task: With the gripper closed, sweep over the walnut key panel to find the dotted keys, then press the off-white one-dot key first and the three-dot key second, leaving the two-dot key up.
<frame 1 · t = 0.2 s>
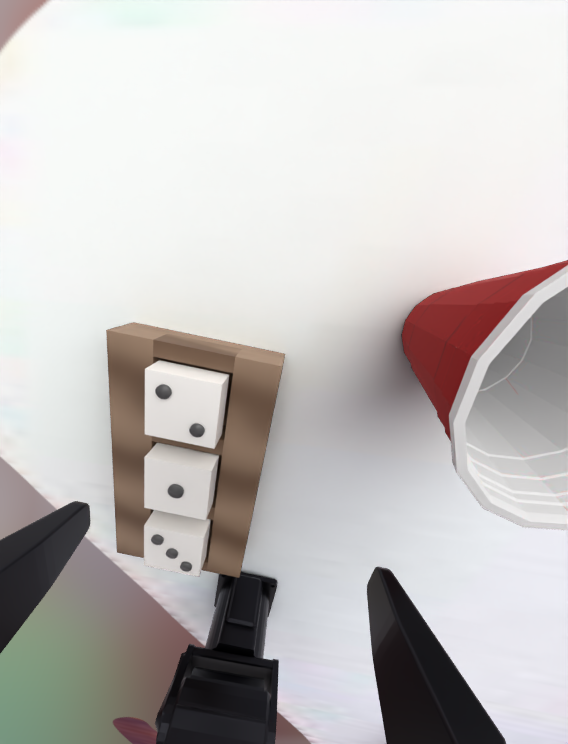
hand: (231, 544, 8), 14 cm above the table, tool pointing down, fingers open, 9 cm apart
key panel: (198, 452, 24), on the table
two dot key: (186, 405, 18), point 4 cm above the table, slide at 0.0 cm
plastic cup: (443, 332, 19), on the table
one dot key: (181, 482, 21), point 4 cm above the table, slide at 0.0 cm
three dot key: (176, 543, 23), point 4 cm above the table, slide at 0.0 cm
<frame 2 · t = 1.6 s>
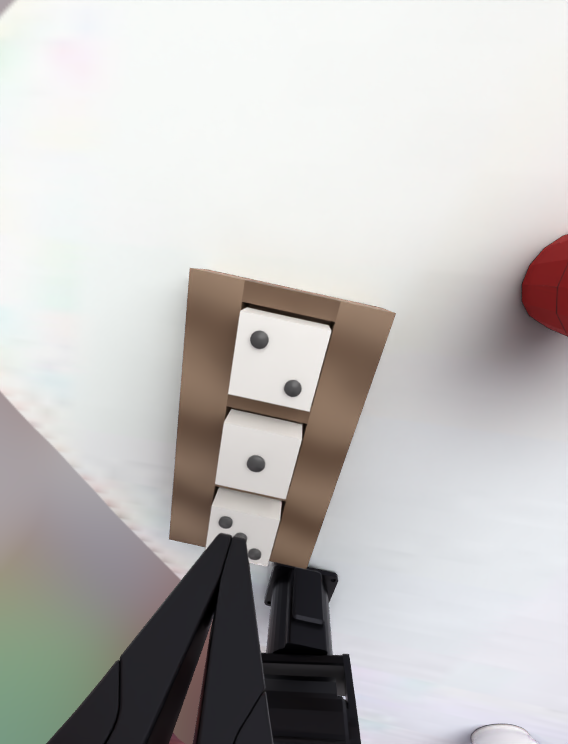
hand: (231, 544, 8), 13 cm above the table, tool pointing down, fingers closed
key panel: (265, 426, 22), on the table
two dot key: (278, 360, 16), point 4 cm above the table, slide at 0.0 cm
lidded bowl: (498, 734, 35), on the table
one dot key: (258, 455, 18), point 4 cm above the table, slide at 0.0 cm
three dot key: (243, 528, 21), point 4 cm above the table, slide at 0.0 cm
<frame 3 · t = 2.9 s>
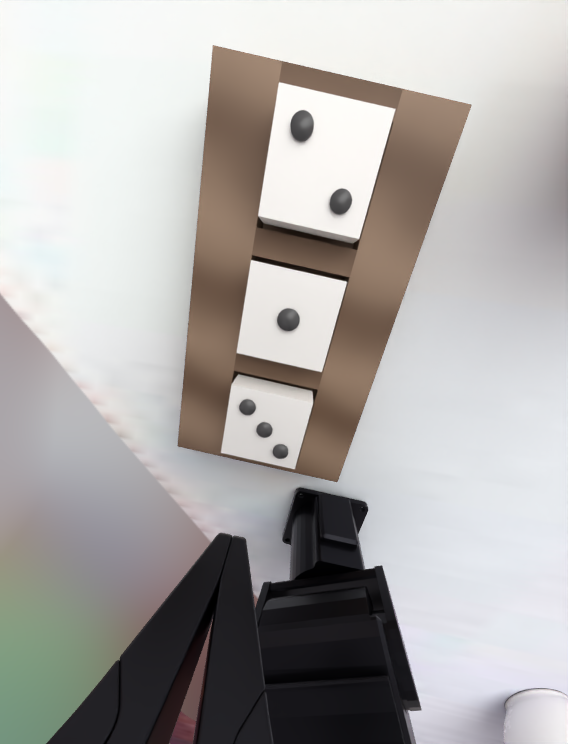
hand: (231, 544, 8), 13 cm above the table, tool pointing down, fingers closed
key panel: (292, 310, 18), on the table
two dot key: (320, 172, 13), point 4 cm above the table, slide at 0.0 cm
lidded bowl: (535, 702, 32), on the table
one dot key: (289, 317, 15), point 4 cm above the table, slide at 0.0 cm
three dot key: (266, 422, 17), point 4 cm above the table, slide at 0.0 cm
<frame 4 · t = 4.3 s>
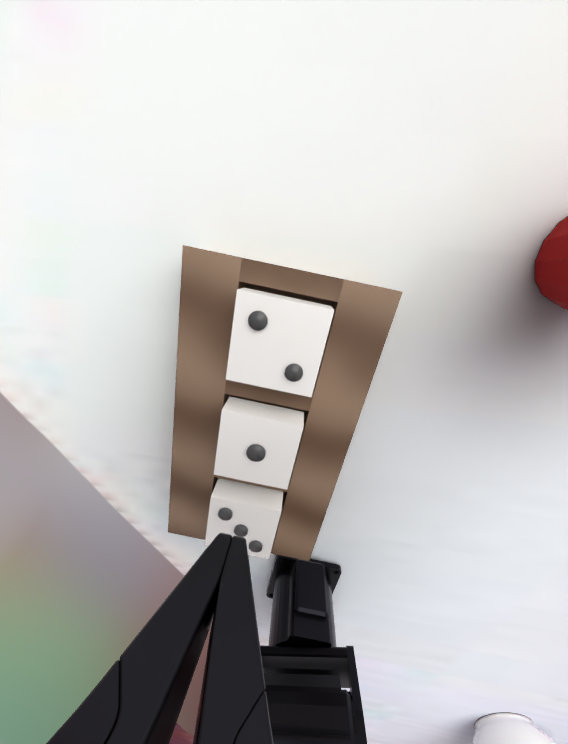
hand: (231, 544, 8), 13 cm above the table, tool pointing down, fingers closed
key panel: (265, 415, 21), on the table
two dot key: (277, 343, 15), point 4 cm above the table, slide at 0.0 cm
lidded bowl: (502, 723, 35), on the table
one dot key: (258, 444, 17), point 4 cm above the table, slide at 0.0 cm
three dot key: (243, 519, 20), point 4 cm above the table, slide at 0.0 cm
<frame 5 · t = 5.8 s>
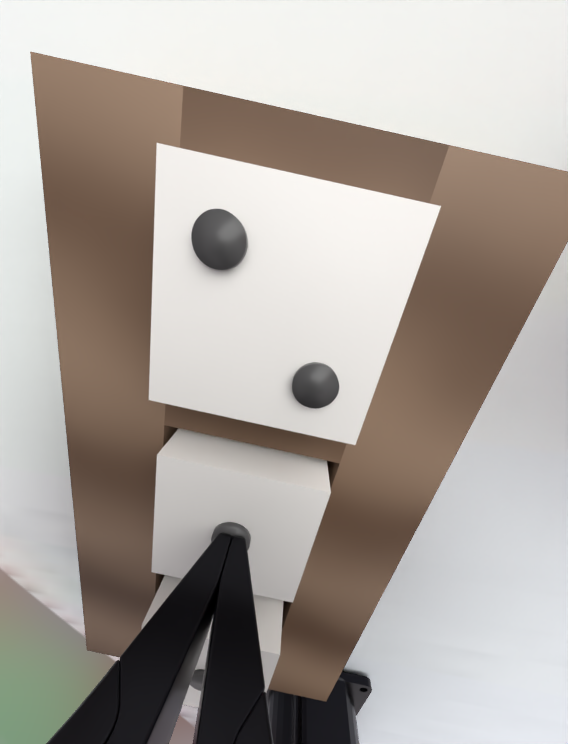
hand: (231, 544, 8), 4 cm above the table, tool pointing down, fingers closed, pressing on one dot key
key panel: (254, 455, 12), on the table
two dot key: (275, 313, 6), point 4 cm above the table, slide at 0.0 cm
one dot key: (237, 514, 9), point 3 cm above the table, slide at 0.5 cm, touching gripper
three dot key: (210, 649, 11), point 4 cm above the table, slide at 0.0 cm
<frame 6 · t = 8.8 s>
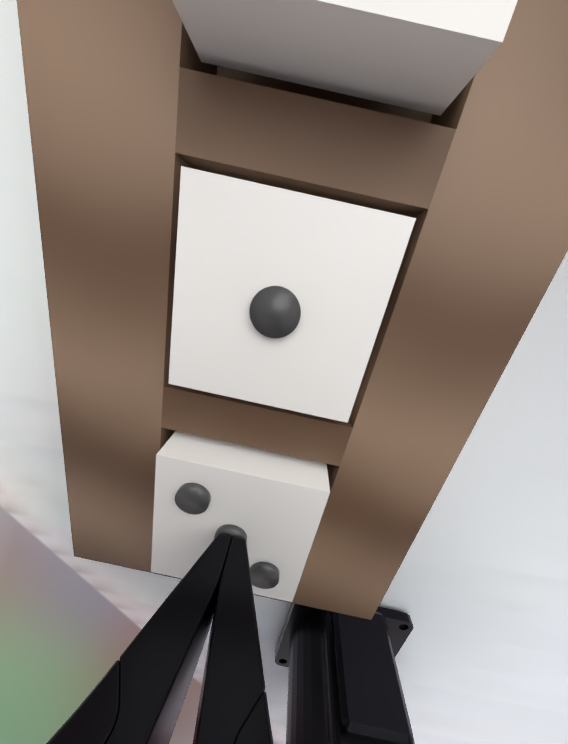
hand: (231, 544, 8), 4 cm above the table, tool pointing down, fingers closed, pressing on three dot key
key panel: (284, 300, 9), on the table
one dot key: (278, 308, 7), point 3 cm above the table, slide at 1.2 cm
three dot key: (237, 514, 9), point 3 cm above the table, slide at 0.7 cm, touching gripper
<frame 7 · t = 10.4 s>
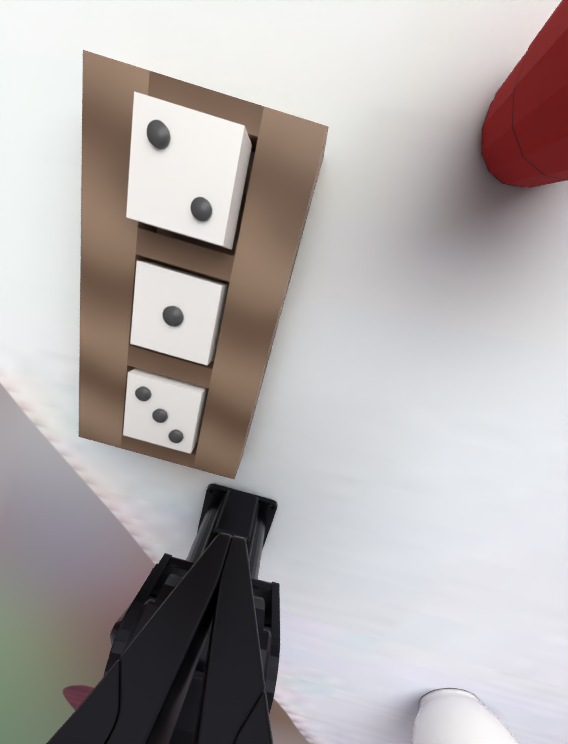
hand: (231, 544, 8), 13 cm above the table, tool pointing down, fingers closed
key panel: (195, 310, 19), on the table
two dot key: (188, 180, 13), point 4 cm above the table, slide at 0.0 cm
plastic cup: (536, 130, 15), on the table
lidded bowl: (448, 701, 33), on the table
one dot key: (179, 314, 17), point 3 cm above the table, slide at 1.2 cm
three dot key: (166, 409, 19), point 3 cm above the table, slide at 1.2 cm
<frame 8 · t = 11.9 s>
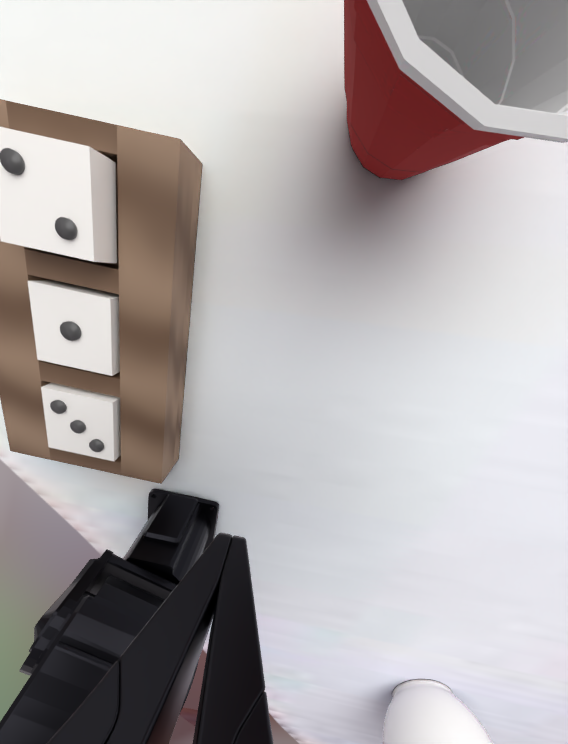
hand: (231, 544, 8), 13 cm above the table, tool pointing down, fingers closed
key panel: (109, 322, 20), on the table
two dot key: (56, 201, 14), point 4 cm above the table, slide at 0.0 cm
plastic cup: (403, 122, 15), on the table
lidded bowl: (421, 692, 33), on the table
one dot key: (82, 328, 17), point 3 cm above the table, slide at 1.2 cm
three dot key: (87, 420, 20), point 3 cm above the table, slide at 1.2 cm
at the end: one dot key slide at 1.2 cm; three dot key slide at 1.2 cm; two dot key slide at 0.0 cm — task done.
